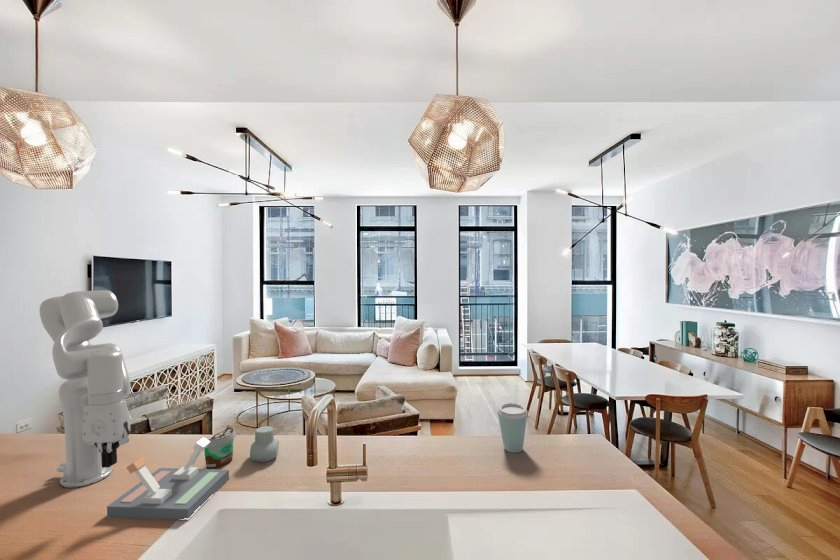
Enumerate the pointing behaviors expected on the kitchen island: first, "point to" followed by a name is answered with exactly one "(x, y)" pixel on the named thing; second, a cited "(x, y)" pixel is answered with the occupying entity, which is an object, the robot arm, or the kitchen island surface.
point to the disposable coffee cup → (512, 425)
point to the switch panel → (169, 503)
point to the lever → (196, 452)
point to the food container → (220, 449)
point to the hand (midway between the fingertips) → (109, 465)
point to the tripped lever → (144, 474)
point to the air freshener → (264, 445)
